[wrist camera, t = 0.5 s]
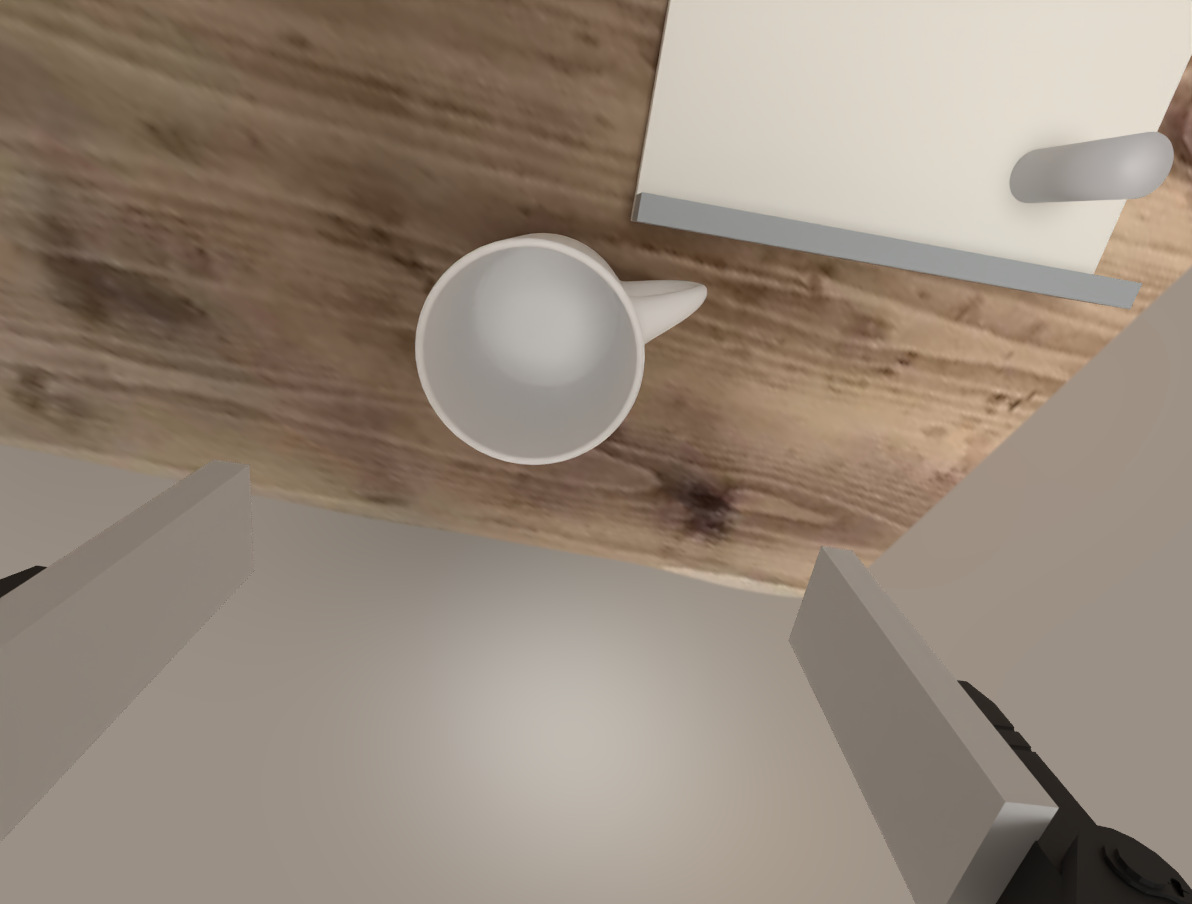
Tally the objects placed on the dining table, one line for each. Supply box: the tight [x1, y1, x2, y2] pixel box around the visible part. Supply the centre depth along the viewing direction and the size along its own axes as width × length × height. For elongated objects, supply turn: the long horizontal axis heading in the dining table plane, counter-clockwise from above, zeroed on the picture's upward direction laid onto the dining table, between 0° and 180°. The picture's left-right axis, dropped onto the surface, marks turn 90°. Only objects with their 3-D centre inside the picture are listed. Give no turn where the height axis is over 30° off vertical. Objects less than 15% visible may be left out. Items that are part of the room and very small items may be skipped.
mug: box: [415, 233, 707, 465], centre depth 27 cm, size 9×12×11 cm
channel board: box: [630, 0, 1192, 309], centre depth 25 cm, size 20×24×7 cm
